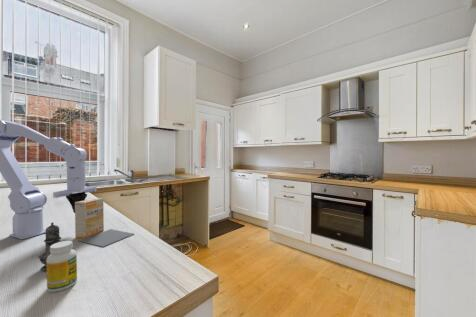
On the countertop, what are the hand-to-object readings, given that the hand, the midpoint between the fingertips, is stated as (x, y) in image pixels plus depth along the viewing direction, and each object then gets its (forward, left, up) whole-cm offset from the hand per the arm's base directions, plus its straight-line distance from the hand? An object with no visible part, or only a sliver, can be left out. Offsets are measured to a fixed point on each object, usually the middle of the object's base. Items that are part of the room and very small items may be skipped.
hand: (77, 212), depth 84 cm
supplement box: (+8, 0, -8) cm, 11 cm away
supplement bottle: (+35, -23, -8) cm, 43 cm away
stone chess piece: (+23, -19, -8) cm, 31 cm away
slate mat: (+17, 0, -7) cm, 19 cm away
